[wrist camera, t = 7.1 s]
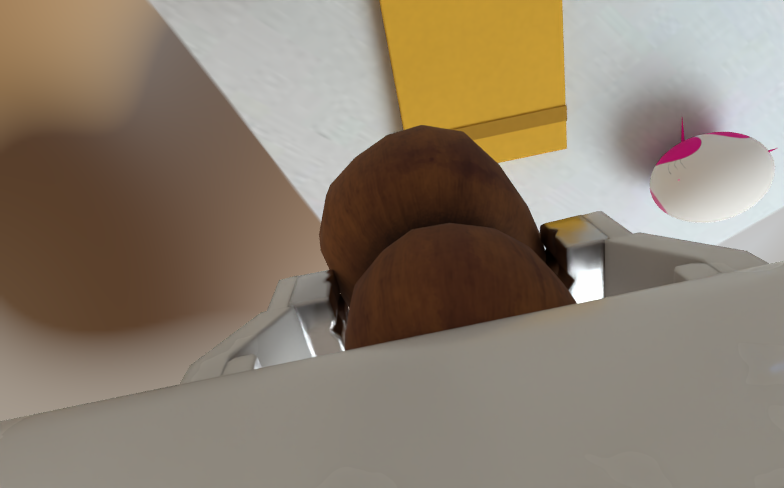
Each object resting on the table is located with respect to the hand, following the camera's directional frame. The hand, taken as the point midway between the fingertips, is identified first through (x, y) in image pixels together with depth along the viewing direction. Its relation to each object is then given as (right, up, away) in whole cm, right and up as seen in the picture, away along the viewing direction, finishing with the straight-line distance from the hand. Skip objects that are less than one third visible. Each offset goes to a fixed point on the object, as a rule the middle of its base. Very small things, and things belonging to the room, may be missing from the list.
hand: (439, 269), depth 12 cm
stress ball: (+20, +7, +21) cm, 30 cm away
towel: (+4, +15, +17) cm, 23 cm away
